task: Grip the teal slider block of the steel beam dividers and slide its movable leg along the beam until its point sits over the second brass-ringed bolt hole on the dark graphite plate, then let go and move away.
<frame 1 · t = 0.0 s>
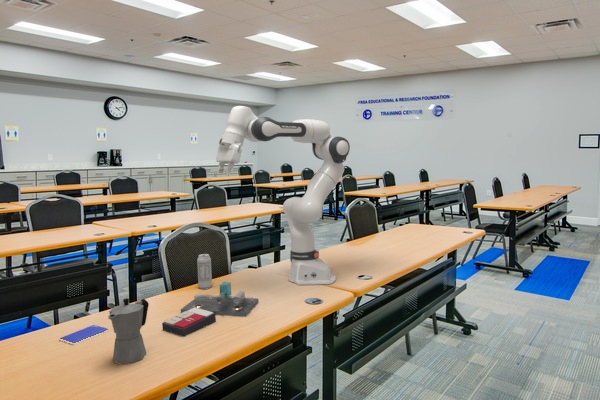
hand: (223, 173, 182), 52 cm above the table, tool tilted 20°, fingers open, 8 cm apart
slider: (223, 294, 169), point 5 cm above the table, slide at 7.0 cm
hard drive: (84, 338, 145), on the table
calculator: (189, 327, 151), on the table
energy drink can: (205, 287, 196), on the table
coffeepot: (132, 356, 129), on the table
hole plate: (220, 307, 169), on the table
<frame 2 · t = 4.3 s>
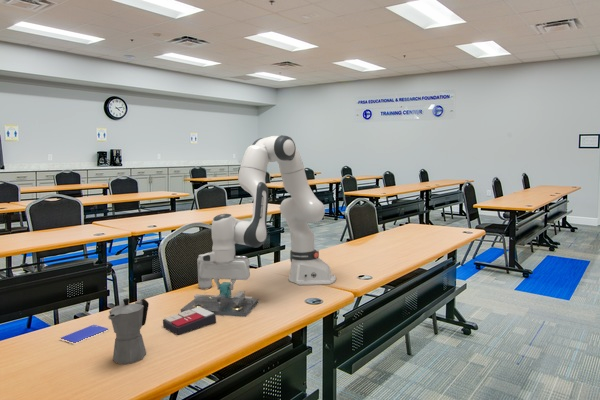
hand: (225, 289, 171), 6 cm above the table, tool pointing down, fingers closed on slider, 3 cm apart
slider: (223, 294, 169), point 5 cm above the table, slide at 7.0 cm, touching gripper
calculator: (189, 326, 152), on the table
everything else where it was.
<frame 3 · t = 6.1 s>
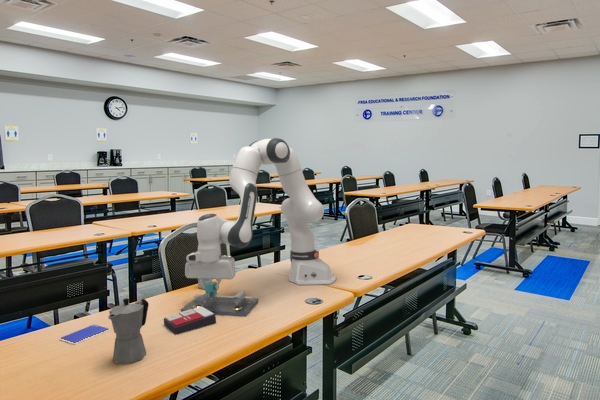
hand: (211, 289, 172), 6 cm above the table, tool pointing down, fingers closed on slider, 3 cm apart
slider: (208, 293, 170), point 5 cm above the table, slide at 13.0 cm, touching gripper
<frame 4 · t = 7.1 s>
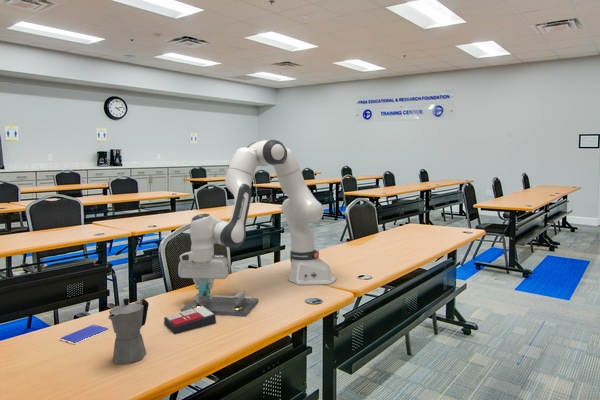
hand: (204, 288, 173), 6 cm above the table, tool pointing down, fingers closed on slider, 3 cm apart
slider: (201, 293, 170), point 5 cm above the table, slide at 15.9 cm, touching gripper
everything else where it was.
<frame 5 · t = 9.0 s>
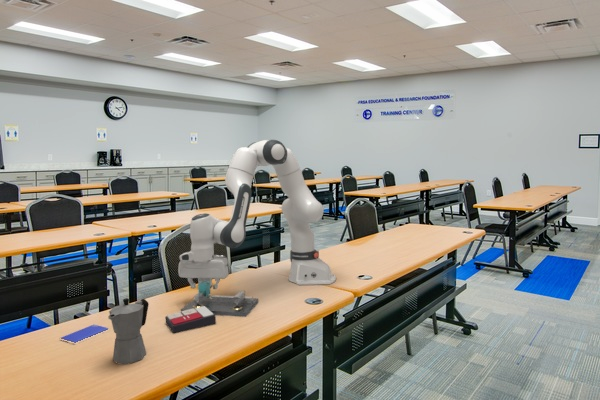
hand: (204, 288, 173), 6 cm above the table, tool pointing down, fingers open, 8 cm apart
slider: (201, 293, 170), point 5 cm above the table, slide at 16.0 cm
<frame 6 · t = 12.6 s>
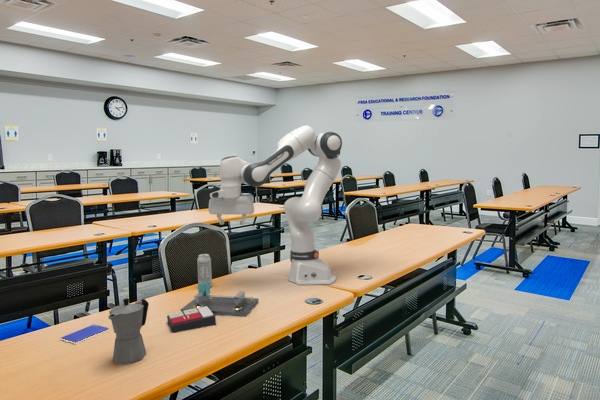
hand: (232, 224, 190), 29 cm above the table, tool pointing down, fingers open, 8 cm apart
at the end: slider slide at 16.0 cm; the gripper is holding nothing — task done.
